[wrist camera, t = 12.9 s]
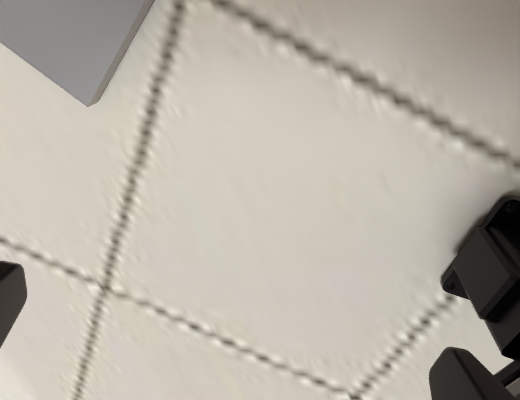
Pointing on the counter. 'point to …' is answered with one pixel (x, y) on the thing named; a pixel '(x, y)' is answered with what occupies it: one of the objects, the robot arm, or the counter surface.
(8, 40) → the base plate
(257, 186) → the counter surface
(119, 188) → the counter surface
